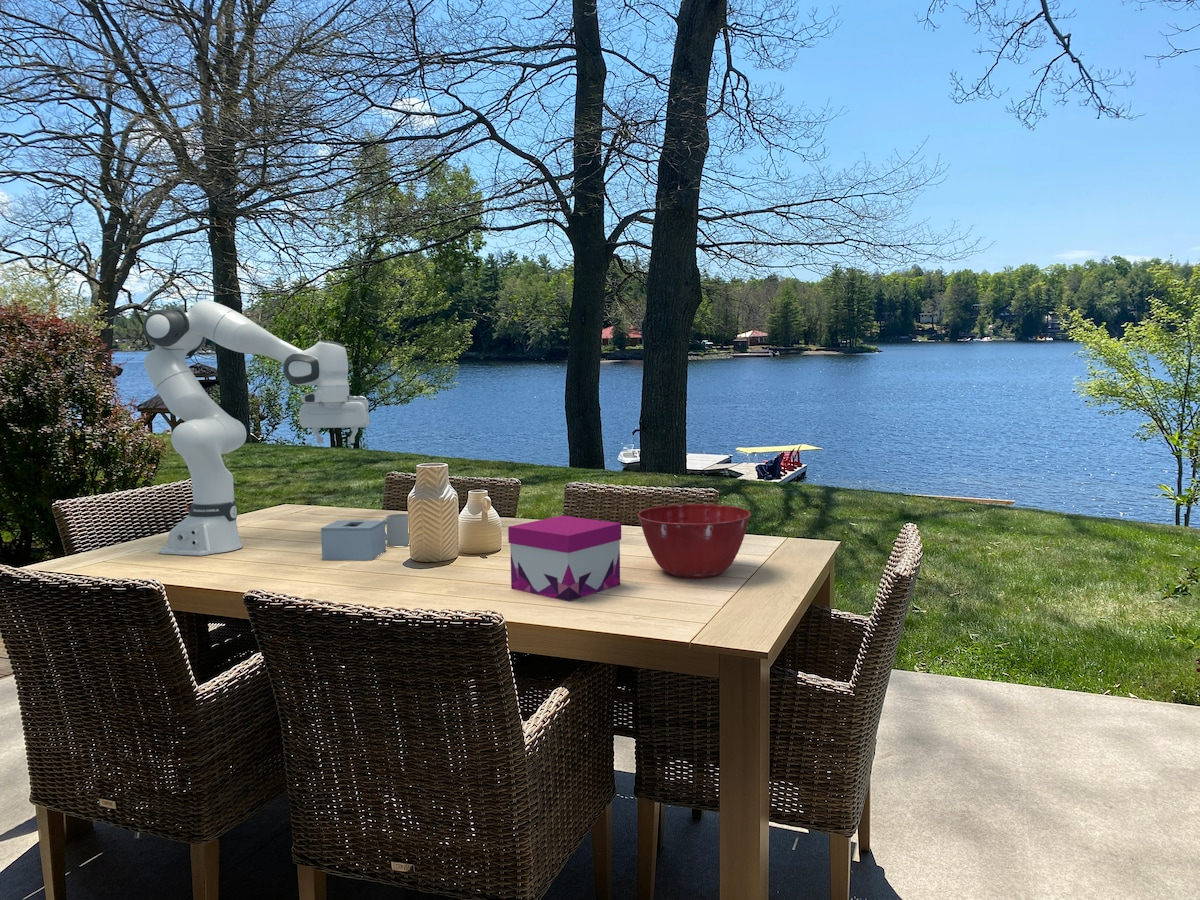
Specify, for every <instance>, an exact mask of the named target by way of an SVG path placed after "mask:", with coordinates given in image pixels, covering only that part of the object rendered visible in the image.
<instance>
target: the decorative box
mask: <svg viewBox="0 0 1200 900" xmlns="http://www.w3.org/2000/svg"><path fill="white" fill-rule="evenodd" d="M507 529H508V530H507V531H508V534H507V535H508V540H507V541H508V544H509V545H510V546H509V547H510V581H511V582H510V584H511V585H510V587H511V588H510V589H512V590H517V591H520V592H525V593H530V594H535V595H538V596H539V595H540V596H545V597H549V598H554V599H557V600H563V601H567V602H571V601H575V600H577V599H580V598H583V597H587V596H589V595H592V594H596V593H598V592H603V591H605V590H608V589H611V588H614V587H618V586H620V585H621V542H620V541H621V540H622V523H621V522H613V521H606V520H599V519H598V520H597V519H591V518H590V519H589V518H584V517H583V518H582V517H574V516H568V515H559V516H555V517H554V516H553V517H549V518H544V519H540V520H534V521H529V522H525V523H520V524H515V525H510V526H507Z"/></svg>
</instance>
